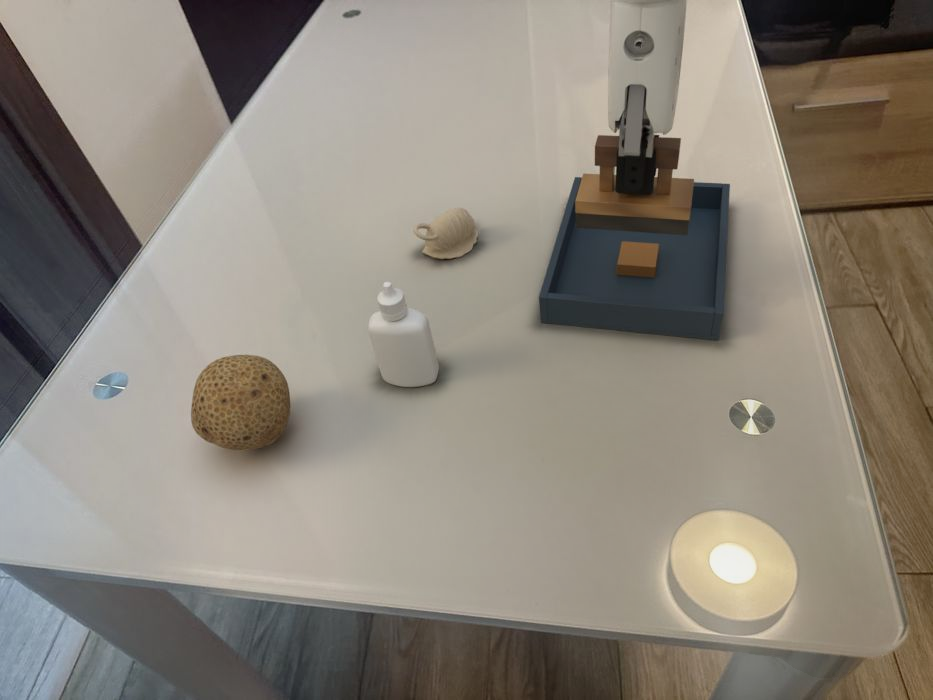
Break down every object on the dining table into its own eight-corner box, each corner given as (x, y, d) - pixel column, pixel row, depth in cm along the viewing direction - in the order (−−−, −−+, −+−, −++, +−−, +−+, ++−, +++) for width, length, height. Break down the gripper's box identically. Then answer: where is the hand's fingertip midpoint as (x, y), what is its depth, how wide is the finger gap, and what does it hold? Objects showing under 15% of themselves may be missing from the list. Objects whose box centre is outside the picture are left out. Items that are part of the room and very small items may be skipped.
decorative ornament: (487, 243, 84) (483, 206, 80) (427, 273, 82) (419, 236, 78) (469, 228, 87) (464, 190, 83) (410, 256, 84) (402, 219, 80)
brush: (690, 208, 66) (700, 130, 60) (687, 237, 63) (697, 158, 58) (583, 201, 69) (583, 126, 63) (575, 229, 66) (574, 153, 60)
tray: (725, 209, 83) (730, 183, 80) (718, 340, 69) (723, 313, 66) (575, 201, 88) (574, 176, 85) (540, 322, 74) (538, 297, 71)
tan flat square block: (658, 254, 78) (659, 243, 77) (654, 278, 75) (655, 267, 74) (621, 251, 79) (621, 241, 78) (616, 275, 76) (617, 264, 75)
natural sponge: (212, 488, 64) (165, 420, 57) (214, 415, 70) (172, 345, 63) (311, 462, 65) (276, 391, 58) (304, 391, 71) (272, 320, 64)
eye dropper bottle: (404, 351, 73) (380, 260, 65) (446, 371, 71) (427, 280, 62) (376, 378, 71) (347, 288, 63) (419, 400, 68) (394, 310, 60)
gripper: (698, 6, 44) (672, 242, 57) (710, -79, 54) (685, 138, 67) (577, 8, 46) (579, 235, 59) (610, -74, 56) (605, 136, 69)
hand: (635, 182), depth 63 cm, fingers closed on brush, 2 cm apart
